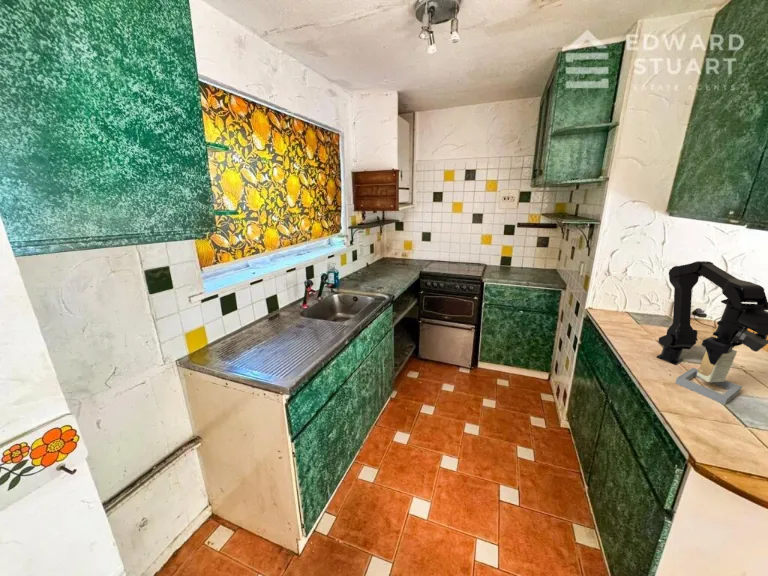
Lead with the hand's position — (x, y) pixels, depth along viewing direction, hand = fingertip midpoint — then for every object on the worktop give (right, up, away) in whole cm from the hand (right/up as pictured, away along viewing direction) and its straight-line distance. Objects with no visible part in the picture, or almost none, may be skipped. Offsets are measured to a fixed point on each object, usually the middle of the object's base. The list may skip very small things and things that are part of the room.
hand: (717, 360), depth 105 cm
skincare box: (0, -7, +2) cm, 7 cm away
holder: (0, -11, +4) cm, 11 cm away
